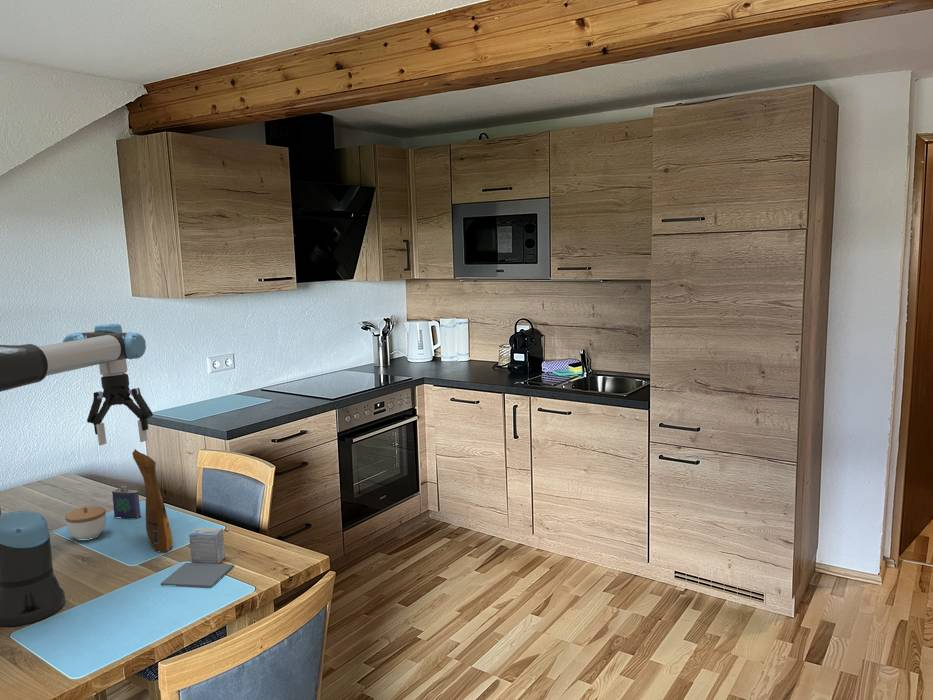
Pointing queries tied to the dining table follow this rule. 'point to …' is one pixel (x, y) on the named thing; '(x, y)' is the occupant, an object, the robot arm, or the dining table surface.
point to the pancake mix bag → (154, 505)
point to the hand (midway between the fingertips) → (123, 443)
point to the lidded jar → (86, 522)
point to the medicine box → (207, 545)
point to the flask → (126, 503)
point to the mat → (197, 574)
